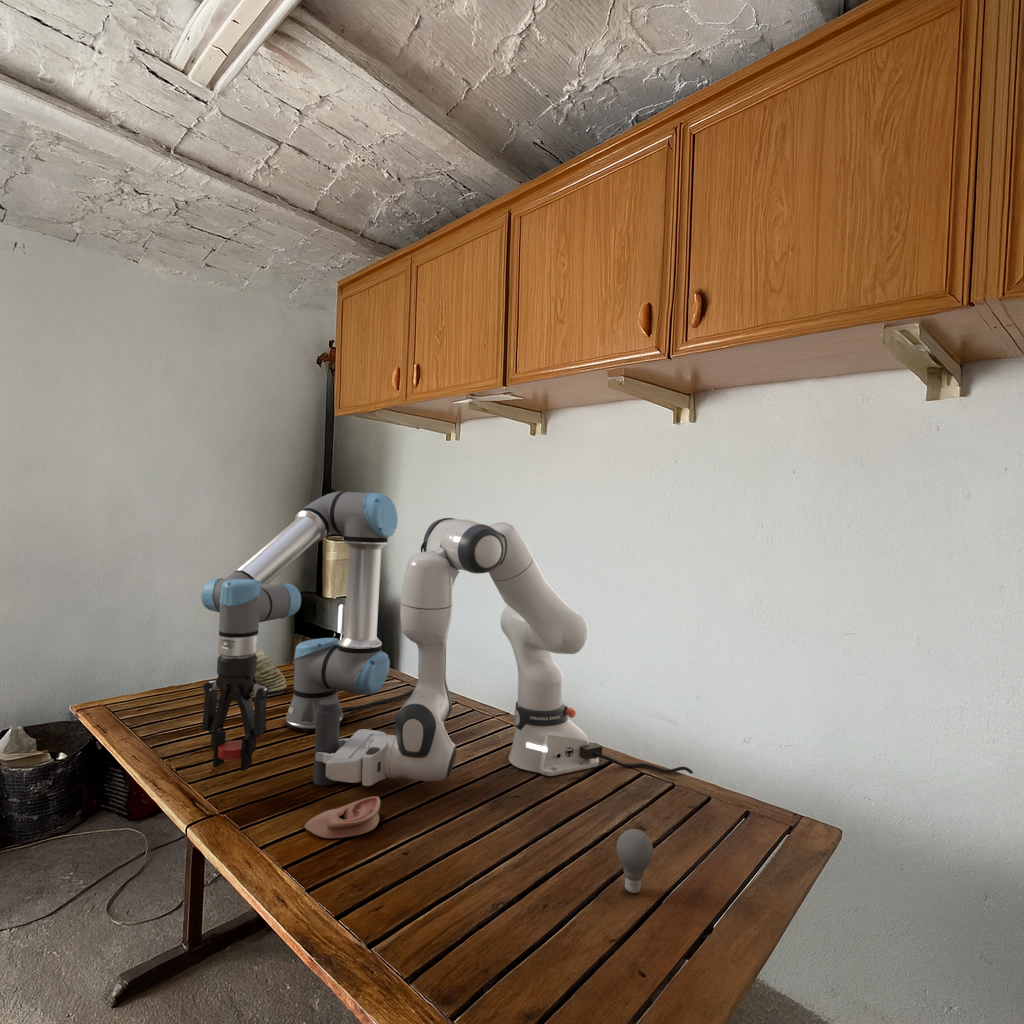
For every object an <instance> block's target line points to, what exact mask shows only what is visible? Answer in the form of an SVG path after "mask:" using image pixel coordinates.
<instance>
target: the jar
mask: <svg viewBox="0 0 1024 1024" xmlns="http://www.w3.org/2000/svg"><path fill="white" fill-rule="evenodd" d="M318 706H319V708H317V709H316V729H315V732H314V734H315V735H314V758H313V759H314V760H313V781H312V782H313V783H314V784H315V785H317V786H322V787H323V786H324V787H325V786H331V785H334V784H335V783H337V781H334V780H330V779H329V778H327V777H326V763H324V762H321V761H316V760H315V754H316V753H317V752H318V751H326V753H328V754H331V753H336V752H337V751H338V750H339V740H340V725H341V724H340V708H339V707H338V701H337V700H334V699H325V700H321V701H320V702H319V705H318ZM339 724H340V725H339Z"/></svg>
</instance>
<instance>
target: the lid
mask: <svg viewBox="0 0 1024 1024" xmlns="http://www.w3.org/2000/svg"><path fill="white" fill-rule="evenodd" d="M241 752H242V740H236V739H235V740H228V741H225V742H224V743H222V744H220V745H219V747H218V757H219V758H220V759H223V760H225V761H234V760H239V759H241Z"/></svg>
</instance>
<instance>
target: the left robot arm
mask: <svg viewBox="0 0 1024 1024" xmlns="http://www.w3.org/2000/svg"><path fill="white" fill-rule="evenodd" d="M397 527H398V511H397V509H396V506H395V503H394V502H393V500H392V499H391V498H390V497H389V496H388V495H385V494H384V493H377V492H363V491H362V492H358V491H357V492H356V491H333V492H330V493H327V494H325V495H323V496H321V497H319V498H317V499H315V500H313V501H312V502H310V503H309V504H307V505H306V506H304V508H302V509H301V510H299V512H297V513H296V515H295V516H294V521H292V522H291V523H290V524H289V525H287V527H285V528H284V529H283V530H282V531H280V532H279V533H278V534H277V535H275V536H274V537H273V538H272V539H271V540H270V541H268V542H267V543H266V544H265V545H264V546H263V547H261V548H260V549H259V550H258V551H256V553H254V554H253V555H252V556H251V557H249V558H248V559H247V560H246V561H245V562H243V563H242V564H241V565H240V566H239V567H238V568H236V569H235V570H234V571H233V572H232V573H231V574H229V575H228V576H226V577H225V578H221V577H220V578H213V579H210V580H208V581H207V582H206V583H205V584H204V585H203V587H202V591H201V595H200V599H201V602H202V605H203V606H204V607H205V609H207V610H209V611H212V612H216V613H218V614H219V619H218V620H219V623H218V628H219V629H218V643H217V644H218V645H217V653H218V655H219V656H218V657H217V661H216V663H217V664H216V674H217V677H216V679H215V680H214V679H212V680H209V681H207V682H204V683H203V685H202V687H203V692H204V700H203V701H204V702H203V714H202V731H204V732H206V731H207V732H209V733H210V748H211V750H213V756H212V757H213V759H212V768H219V766H221V765H223V764H224V763H225V761H226V760H223V759H220V758H219V757H218V747H219V745H220V744H222V743H224V742H226V737H227V735H226V734H227V731H224V730H225V727H224V726H225V722H226V719H227V716H228V714H229V710H230V706H231V705H232V702H233V701H234V702H236V704H237V706H238V708H239V711H240V717H241V720H242V724H243V730H244V734H245V736H244V737H243V738H242V739H241V741H242V752H241V758H240V771H241V772H245V771H246V770H248V769H249V768H251V767H252V765H253V754H254V753H255V752H256V749H257V738H258V737H260V736H261V735H263V734H266V732H267V697H268V696H267V693H268V691H269V687H268V686H264V687H263V686H261V685H259V684H257V681H256V679H255V674H256V668H257V656H256V655H255V653H256V652H257V648H259V625H260V623H265V622H268V621H274V620H279V619H285V618H287V617H291V616H293V615H295V614H296V613H298V611H299V610H300V608H301V604H302V595H301V592H300V590H299V589H298V587H296V586H295V585H293V584H292V583H281V582H280V583H278V584H270V583H271V582H272V581H274V579H276V578H277V577H278V576H279V575H280V574H281V573H282V572H283V571H284V570H285V569H287V568H288V567H289V566H290V565H291V564H292V563H293V562H294V561H295V560H297V559H298V557H300V556H301V555H302V554H303V553H304V552H305V551H306V550H307V549H308V548H310V547H311V546H312V545H313V544H314V543H315V542H316V543H317V542H321V541H323V540H324V539H325V538H327V536H330V535H335V534H336V535H337V534H339V535H340V534H341V535H343V543H344V545H346V546H347V547H348V557H347V558H348V560H347V578H346V595H345V596H346V597H345V612H344V613H345V615H344V629H343V630H344V631H343V633H344V634H343V636H342V638H341V639H340V640H339V638H337V637H321V638H313V639H307V640H304V641H302V642H299V643H298V644H297V645H296V647H295V652H294V653H295V654H294V657H293V660H294V661H293V662H294V668H293V695H292V696H293V697H292V699H291V702H290V704H289V707H288V709H287V713H286V715H285V726H286V728H287V729H289V730H291V731H294V732H295V731H296V732H301V733H315V729H316V709H317V708H319V706H318V705H319V702H320V701H321V700H325V699H334V700H337V701H338V707H339V708H340V724H339V726H340V725H342V723H343V722H344V713H343V711H351V710H359V709H364V708H365V709H366V708H369V707H372V706H376V705H379V704H383V703H388V702H393V701H397V700H398V699H399V700H400V699H402V698H405V697H407V696H410V695H411V694H412V692H413V691H414V689H415V688H413V689H411V690H409V691H407V692H405V693H402V694H400V695H396V696H392V697H387V698H384V699H380V700H376V701H372V702H368V703H364V704H360V705H353V706H344V707H343V706H341V702H340V699H339V695H338V691H340V692H346V693H351V694H355V695H358V696H359V695H363V696H364V695H365V696H371V695H374V694H376V693H377V692H379V691H380V690H381V688H382V687H383V685H384V684H385V682H386V680H387V678H388V675H389V672H390V667H391V661H390V658H389V655H388V653H386V652H385V651H383V650H382V648H383V647H382V646H383V642H382V641H381V640H380V639H379V638H378V636H377V635H378V619H379V618H378V617H379V603H380V602H379V601H380V600H379V599H380V584H381V583H380V582H381V581H380V580H381V561H382V549H383V548H384V547H385V546H386V545H387V544H388V538H390V537H392V536H393V535H394V534H395V532H396V529H397ZM253 690H254V696H255V697H254V699H253V697H252V695H251V692H252V691H253ZM218 691H219V692H220V694H219V697H218ZM253 701H254V702H253ZM217 703H218V705H217Z"/></svg>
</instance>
